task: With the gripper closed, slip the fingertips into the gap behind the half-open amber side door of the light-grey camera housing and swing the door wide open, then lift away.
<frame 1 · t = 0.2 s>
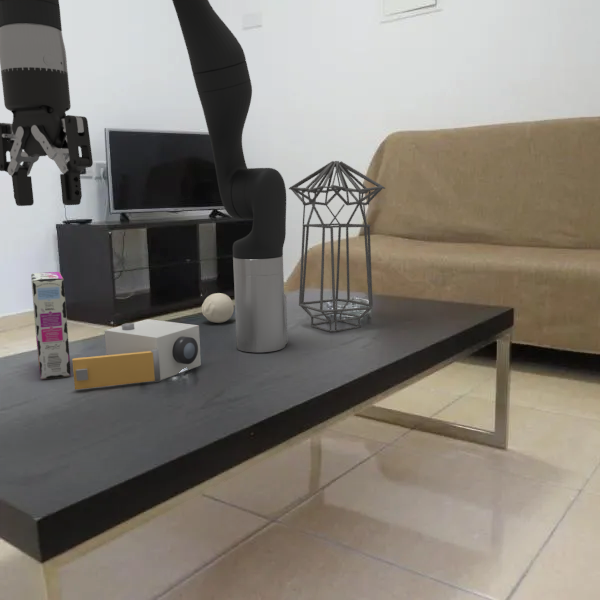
hand: (47, 205, 81), 28 cm above the table, fingers open, 8 cm apart
candy bar box: (55, 371, 110), on the table
side door: (117, 369, 100), point 3 cm above the table, hinge at 50.0°
cream round ball: (218, 323, 146), on the table
geometric lantern: (338, 326, 140), on the table
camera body: (154, 367, 110), on the table
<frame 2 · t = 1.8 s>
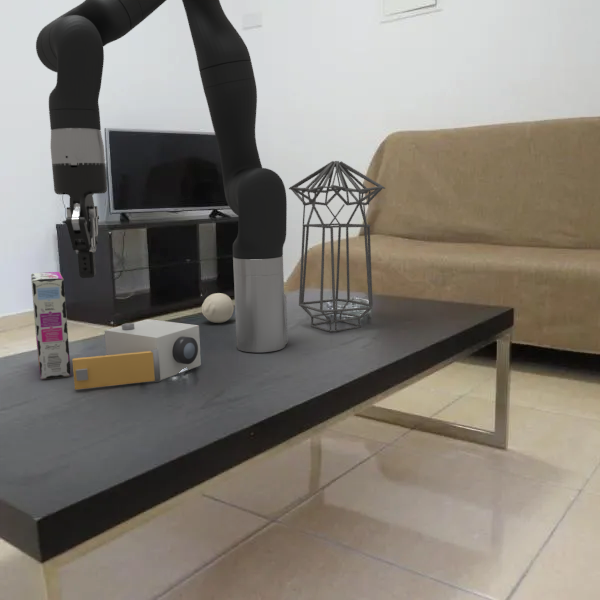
hand: (88, 276, 99), 17 cm above the table, fingers closed
nothing on the table moved.
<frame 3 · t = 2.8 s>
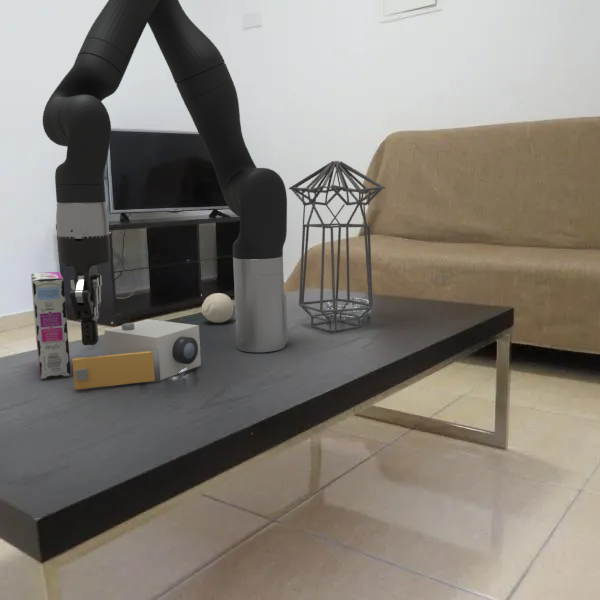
hand: (90, 343, 101), 6 cm above the table, fingers closed
nothing on the table moved.
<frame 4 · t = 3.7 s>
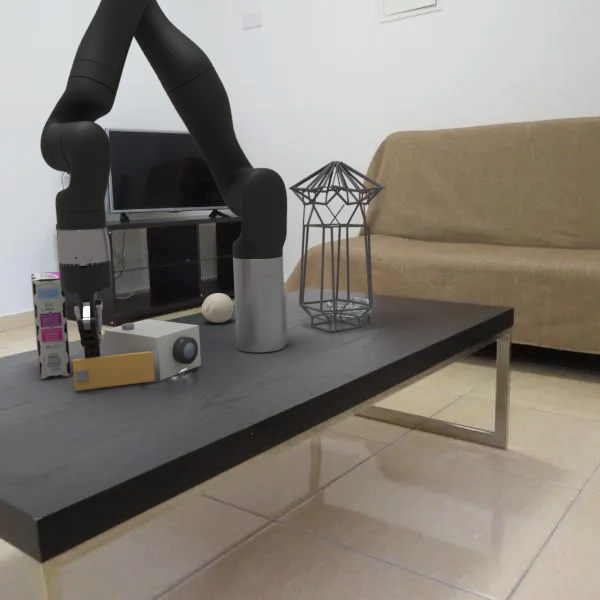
hand: (93, 368, 101), 3 cm above the table, fingers closed
side door: (117, 370, 100), point 3 cm above the table, hinge at 52.7°, touching gripper
everything else where it was.
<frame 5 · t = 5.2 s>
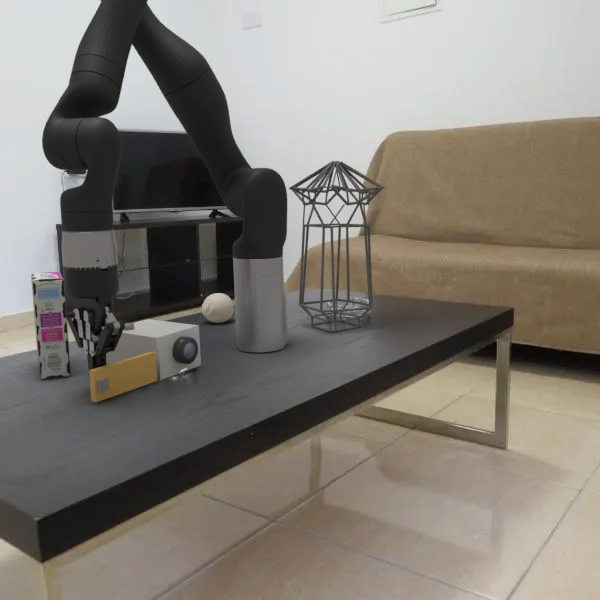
hand: (98, 378, 96), 3 cm above the table, fingers closed
side door: (128, 375, 97), point 3 cm above the table, hinge at 88.7°, touching gripper
everything else where it was.
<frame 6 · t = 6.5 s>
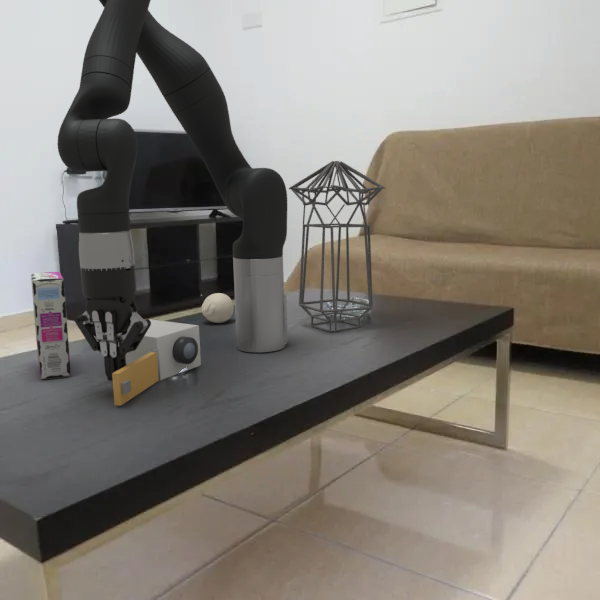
hand: (116, 379, 96), 2 cm above the table, fingers closed
side door: (139, 376, 96), point 3 cm above the table, hinge at 108.7°
everything else where it was.
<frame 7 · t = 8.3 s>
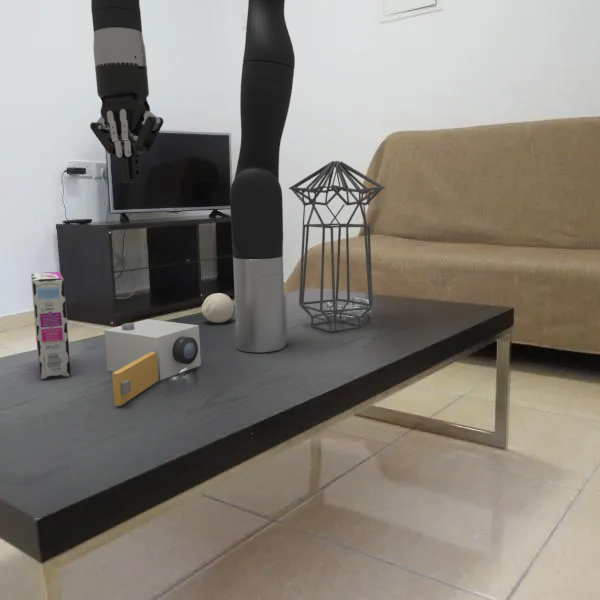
hand: (131, 182, 100), 31 cm above the table, fingers closed
nothing on the table moved.
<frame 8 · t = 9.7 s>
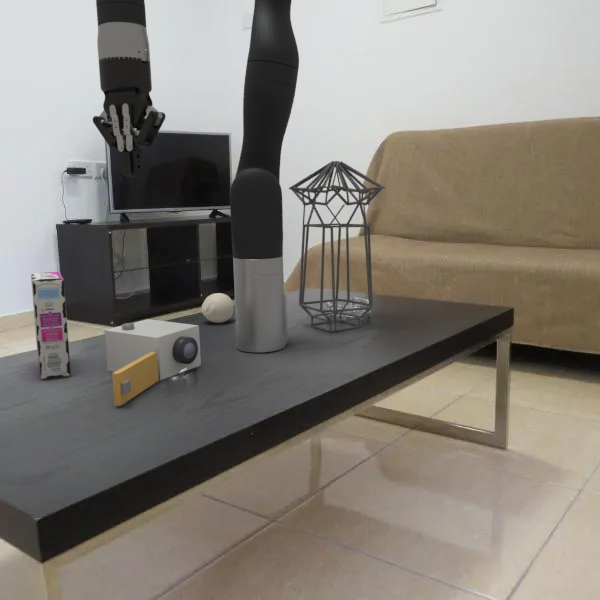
hand: (132, 176, 100), 32 cm above the table, fingers closed
nothing on the table moved.
at the end: side door at +109° (first picture: +50°); candy bar box moved 0.2 cm from its start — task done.
